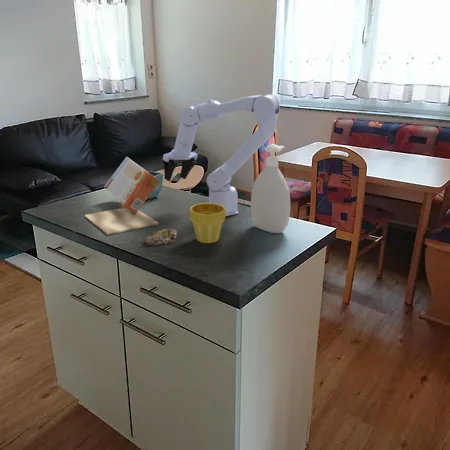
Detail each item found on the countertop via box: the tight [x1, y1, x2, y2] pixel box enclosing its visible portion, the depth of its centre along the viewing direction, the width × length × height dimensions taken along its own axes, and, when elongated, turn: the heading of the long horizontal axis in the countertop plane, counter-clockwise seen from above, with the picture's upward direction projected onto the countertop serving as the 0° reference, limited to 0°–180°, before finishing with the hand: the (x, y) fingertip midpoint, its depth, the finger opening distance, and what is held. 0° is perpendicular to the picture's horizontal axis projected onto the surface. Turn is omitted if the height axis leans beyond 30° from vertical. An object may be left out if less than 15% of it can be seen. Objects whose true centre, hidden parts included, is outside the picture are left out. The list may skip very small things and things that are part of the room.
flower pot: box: [146, 170, 164, 200], centre depth 172 cm, size 9×9×9 cm
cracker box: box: [103, 156, 160, 214], centre depth 160 cm, size 14×6×21 cm
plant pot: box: [189, 202, 226, 244], centre depth 134 cm, size 10×10×10 cm
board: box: [84, 207, 159, 236], centre depth 150 cm, size 17×20×1 cm
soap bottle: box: [250, 143, 291, 234], centre depth 139 cm, size 14×8×27 cm, turn 47°
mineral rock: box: [144, 227, 178, 247], centre depth 135 cm, size 11×4×8 cm
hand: (175, 178), depth 158 cm, fingers open, 7 cm apart
